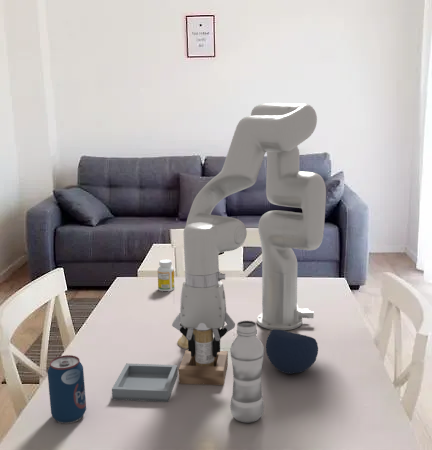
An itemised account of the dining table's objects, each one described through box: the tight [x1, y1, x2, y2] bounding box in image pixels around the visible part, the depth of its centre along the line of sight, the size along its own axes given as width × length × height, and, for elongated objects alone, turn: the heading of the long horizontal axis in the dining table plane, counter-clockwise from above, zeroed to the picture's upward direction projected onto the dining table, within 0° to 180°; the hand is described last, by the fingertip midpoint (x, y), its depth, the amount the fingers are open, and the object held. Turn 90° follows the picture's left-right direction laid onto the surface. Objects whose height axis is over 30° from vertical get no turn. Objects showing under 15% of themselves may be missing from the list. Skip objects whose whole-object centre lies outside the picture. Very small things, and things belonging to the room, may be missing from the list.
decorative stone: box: [265, 329, 319, 375], centre depth 138 cm, size 12×12×10 cm
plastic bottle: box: [229, 320, 265, 424], centre depth 117 cm, size 6×7×20 cm
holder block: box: [178, 349, 229, 386], centre depth 138 cm, size 10×10×4 cm
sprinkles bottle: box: [194, 323, 214, 366], centre depth 137 cm, size 5×5×14 cm
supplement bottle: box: [157, 258, 175, 292], centre depth 196 cm, size 5×5×10 cm
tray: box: [111, 362, 179, 403], centre depth 133 cm, size 12×12×2 cm
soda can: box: [47, 354, 87, 424], centre depth 120 cm, size 7×7×12 cm
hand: (204, 353), depth 137 cm, fingers closed on sprinkles bottle, 4 cm apart
